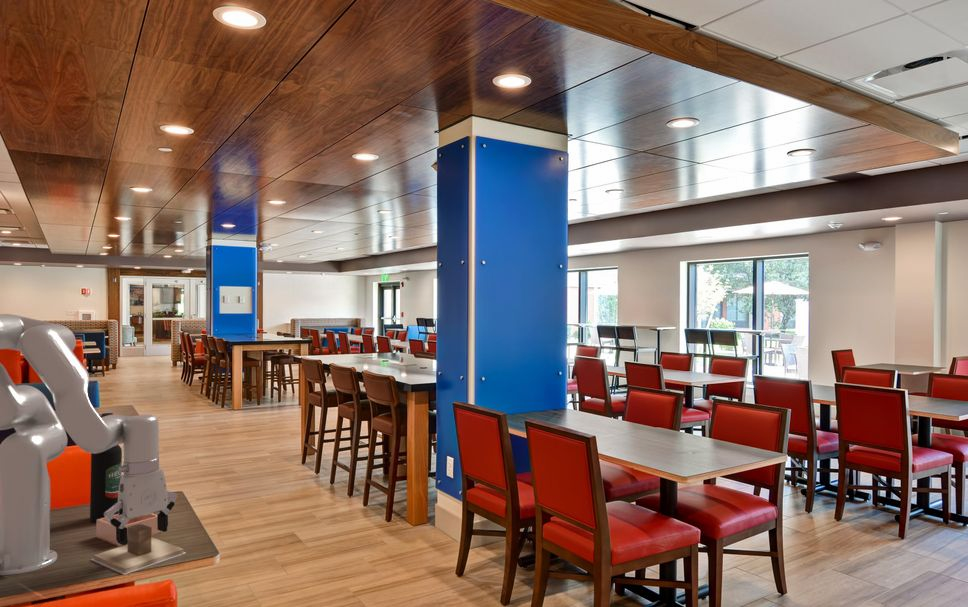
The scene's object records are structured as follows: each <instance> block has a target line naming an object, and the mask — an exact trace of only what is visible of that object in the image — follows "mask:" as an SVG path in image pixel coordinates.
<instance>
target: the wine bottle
mask: <svg viewBox="0 0 968 607" xmlns="http://www.w3.org/2000/svg"><path fill="white" fill-rule="evenodd" d="M108 415H114V413H113V412H103V413H101V416H100V418H102V417H104V416H108ZM122 459H123V450H122V447H121V446H120V444H119V445H116V446H113V447H111V448H110V449H108V450H106V451H104V452H101V453H95V454H94V453H90V490H89V491H90V493H89V494H90V497H89V498H90V500H89V501H90V505H89V521H90V522H91V523H95V524H96V521H97V519H101V518H105V516H104V513H105V512H106V511H107V510H108V509H110V508H111V507H112V506H113V505H115V504H116V503H117V502H118V492H119V485H120V480H121V476H122V475H123V474H122V473H123V472H119V470H118V468H119V467H121V466H123V460H122ZM116 514H118V511H117V512H116V513H114V515H116Z"/></svg>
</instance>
